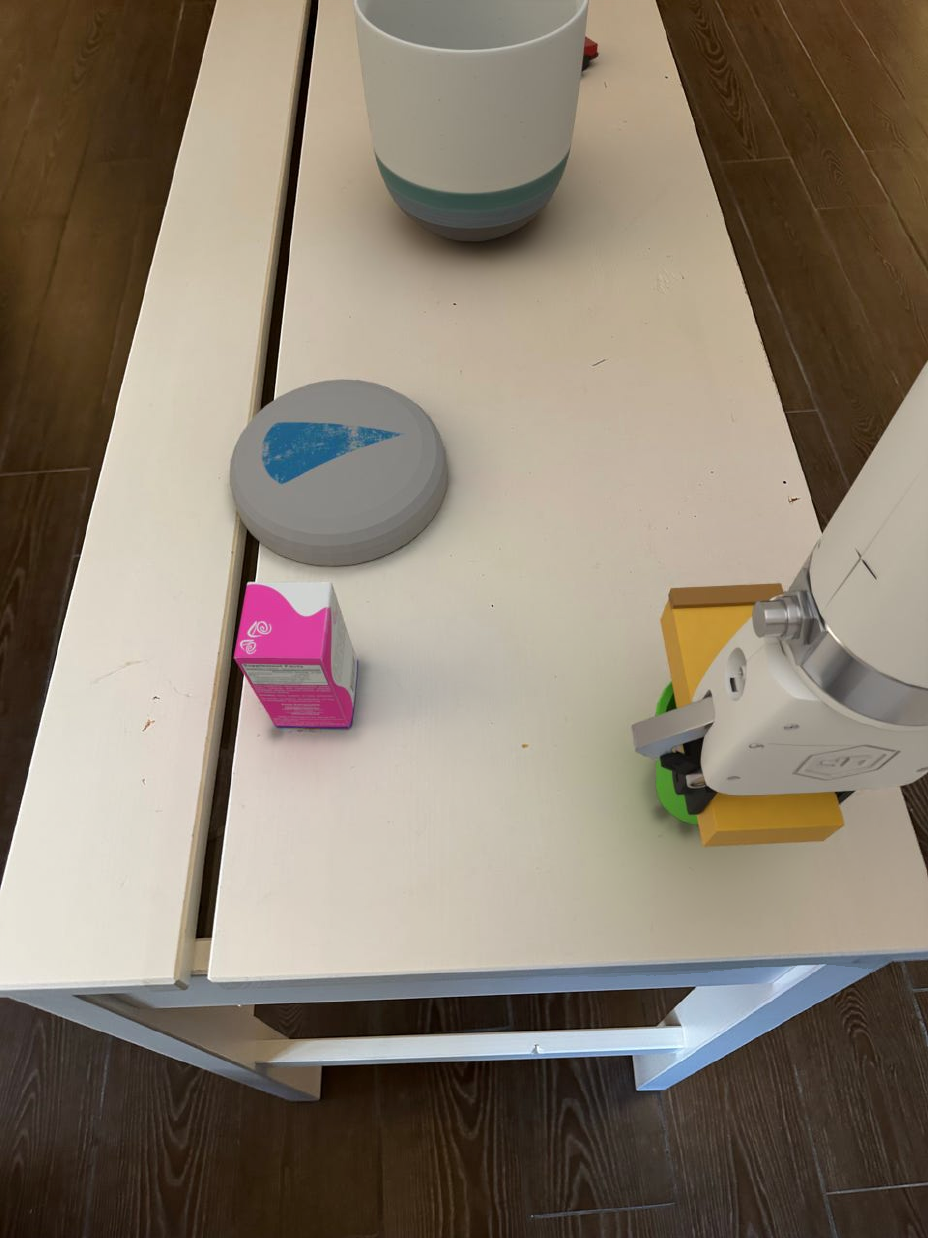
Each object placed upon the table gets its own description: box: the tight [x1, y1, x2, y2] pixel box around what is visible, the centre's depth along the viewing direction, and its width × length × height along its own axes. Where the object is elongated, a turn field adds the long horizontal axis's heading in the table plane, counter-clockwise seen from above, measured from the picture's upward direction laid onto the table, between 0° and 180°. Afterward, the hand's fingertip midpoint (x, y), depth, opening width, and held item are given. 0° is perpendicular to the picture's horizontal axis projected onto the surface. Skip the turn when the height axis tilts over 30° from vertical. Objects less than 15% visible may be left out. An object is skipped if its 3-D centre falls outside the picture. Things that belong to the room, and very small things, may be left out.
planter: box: [352, 0, 590, 242], centre depth 82 cm, size 20×20×21 cm
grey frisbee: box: [229, 379, 449, 567], centre depth 71 cm, size 18×18×5 cm
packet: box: [659, 582, 845, 848], centre depth 47 cm, size 14×6×3 cm, turn 3°
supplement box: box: [233, 581, 359, 730], centre depth 58 cm, size 6×6×12 cm
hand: (755, 783), depth 46 cm, fingers closed on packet, 6 cm apart
